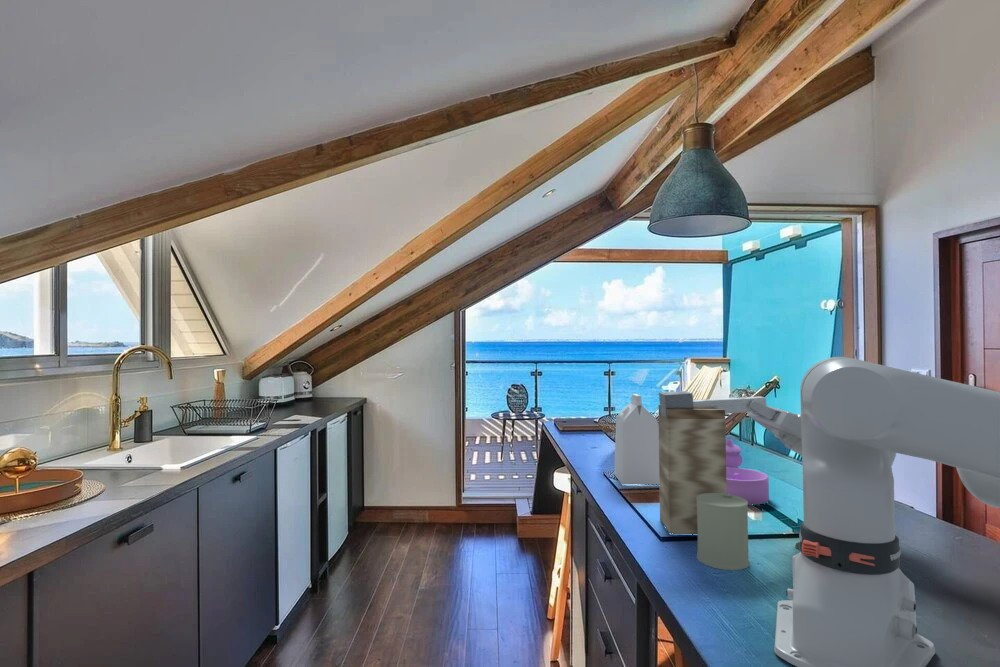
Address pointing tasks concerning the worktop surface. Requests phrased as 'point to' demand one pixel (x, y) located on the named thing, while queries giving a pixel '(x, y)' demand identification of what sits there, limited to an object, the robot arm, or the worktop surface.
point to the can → (722, 531)
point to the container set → (744, 478)
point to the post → (689, 464)
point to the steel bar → (705, 402)
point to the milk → (636, 445)
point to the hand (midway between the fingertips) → (746, 402)
